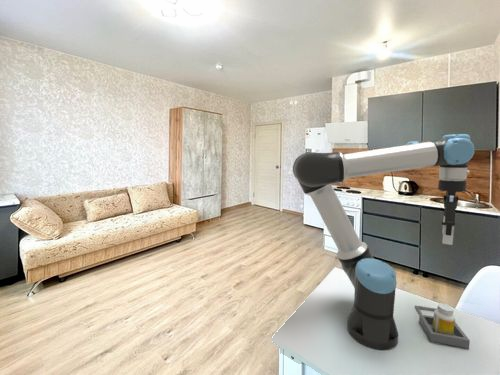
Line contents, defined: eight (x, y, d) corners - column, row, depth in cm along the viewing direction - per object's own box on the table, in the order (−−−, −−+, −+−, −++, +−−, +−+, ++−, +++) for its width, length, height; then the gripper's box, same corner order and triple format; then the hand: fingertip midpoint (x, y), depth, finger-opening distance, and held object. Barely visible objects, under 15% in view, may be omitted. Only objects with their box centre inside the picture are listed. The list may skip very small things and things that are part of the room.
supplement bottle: (428, 329, 82) (430, 302, 81) (441, 327, 83) (444, 301, 82) (443, 341, 77) (446, 313, 76) (457, 338, 78) (460, 310, 77)
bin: (430, 342, 77) (431, 333, 77) (418, 322, 87) (419, 314, 86) (468, 349, 74) (469, 340, 74) (452, 327, 84) (453, 319, 84)
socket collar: (423, 321, 87) (423, 319, 87) (414, 307, 95) (414, 305, 95) (453, 326, 84) (453, 324, 84) (441, 311, 93) (441, 309, 93)
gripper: (469, 183, 73) (463, 251, 76) (464, 177, 93) (458, 231, 95) (438, 182, 78) (432, 246, 81) (439, 176, 97) (434, 228, 100)
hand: (447, 238), depth 88 cm, fingers open, 13 cm apart
